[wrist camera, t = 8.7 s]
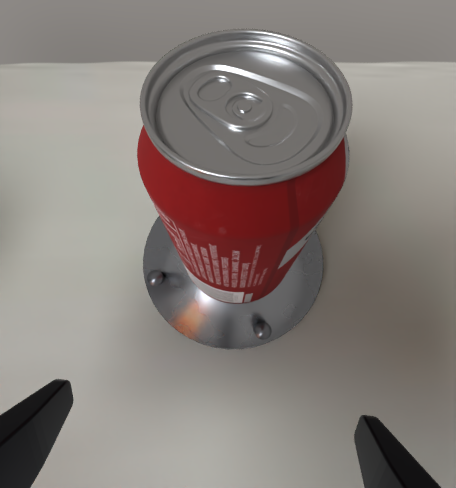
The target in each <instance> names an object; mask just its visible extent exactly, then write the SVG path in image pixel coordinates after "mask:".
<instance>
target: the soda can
mask: <svg viewBox="0 0 456 488" xmlns="http://www.w3.org/2000/svg"><path fill="white" fill-rule="evenodd" d="M140 111H141V117H142V121H143V124H144V125H143V127H142V130H141V133H140V137H139V141H138V149H137V158H138V167H139V171H140V175H141V178H142V180H143V183H144V185H145V188H146V190H147V192H148V194H149V196H150V198H151V200H152V202H153V204H154V206H155V208H156V210H157V212H158V214H159V216H160V218H161V220H162V222H163V224H164V226H165V228H166V230H167V232H168V234H169V236H170V238H171V240H172V242H173V244H174V246H175V248H176V250H177V252H178V254H179V256H180V258H181V260H182V262H183V264H184V266H185V268H186V270H187V272H188V274H189V276H190V278H191V280H192V281H193V283H194V284H195V285H196V286H197V287H198V288H199V289H200V290H201V291H202V292H203V293H204V294H206V295H207V296H209V297H211V298H213V299H215V300H217V301H220V302H224V303H229V304H246V303H251V302H254V301H257V300H259V299H262V298H264V297H265V296H267V295H268V294H270V293H271V292H272V291H273V290H275V289H276V288H277V286H278V285H279V284H280V283H281V281H282V280H283V278H284V277H285V275H286V274H287V272H288V271H289V269H290V268H291V266H292V265H293V263H294V261H295V260H296V258H297V257H298V255H299V254H300V252H301V251H302V249H303V248H304V246H305V245H306V243H307V241H308V240H309V238H310V237H311V235H312V234H313V232H314V231H315V229H316V228H317V226H318V225H319V223H320V222H321V220H322V218H323V217H324V215H325V214H326V212H327V211H328V209H329V208H330V206H331V205H332V203H333V202H334V200H335V198H336V197H337V195H338V193H339V192H340V190H341V188H342V186H343V183H344V181H345V179H346V175H347V171H348V166H349V145H348V140H347V136H346V131H347V128H348V126H349V123H350V119H351V115H352V96H351V91H350V88H349V85H348V83H347V80H346V79H345V77H344V75H343V73H342V72H341V71H340V69H339V68H338V67H337V66H336V65H335V63H334V62H333V61H332V60H330V59H329V58H328V57H327V56H326V55H325V54H323V53H322V52H321V51H319V50H318V49H316V48H315V47H313V46H311V45H310V44H308V43H306V42H303V41H301V40H299V39H297V38H294V37H291V36H288V35H285V34H281V33H277V32H273V31H266V30H258V29H232V30H223V31H217V32H212V33H208V34H205V35H201V36H198V37H196V38H193V39H191V40H189V41H186V42H184V43H182V44H180V45H178V46H177V47H175V48H174V49H172V50H171V51H169V52H168V53H167V54H165V55H164V56H163V57H162V58H161V59H160V60H159V61H158V62H157V63H156V64H155V65H154V66H153V68H152V69H151V70H150V72H149V74H148V75H147V77H146V79H145V81H144V84H143V87H142V90H141V95H140Z"/></svg>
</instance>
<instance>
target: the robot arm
mask: <svg viewBox="0 0 456 488" xmlns="http://www.w3.org/2000/svg"><path fill="white" fill-rule="evenodd" d="M72 404H73V394H72V389H71V384H70V382H69V381H68V380H62V379H56V380H53V381H52V382H50V383H49V384H47V385H46V386H44V387H43V388H41V389H39V390H38V391H36V392H35V393H33V394H32V395H30V396H29V397H27V398H26V399H24V400H23V401H21V402H20V403H18V404H17V405H15V406H14V407H12V408H11V409H9V410H8V411H6V412H4V413H3V414H1V415H0V488H30V487H31V485H32V484H33V482H34V480H35V479H36V477H37V475H38V474H39V472H40V470H41V468H42V466H43V465H44V463H45V461H46V459H47V457H48V455H49V453H50V451H51V449H52V447H53V445H54V443H55V441H56V439H57V436H58V434H59V432H60V430H61V428H62V426H63V424H64V422H65V420H66V418H67V416H68V414H69V412H70V409H71V407H72ZM354 440H355V445H356V450H357V455H358V459H359V464H360V469H361V473H362V478H363V483H364V487H365V488H441V487H440V486H439V485H438V484H437V482H436V481H435V480H434V479H433V478H432V477H431V476H430V475H429V474H428V473H427V472H426V470H425V469H424V468H423V467H422V466H421V465H420V464H419V463H418V462H417V461H416V460H415V458H414V457H413V456H412V455H411V454H410V453H409V452H408V451H407V450H406V449H405V448H404V446H403V445H402V444H401V443H400V442H399V441H398V440H397V439H396V438H395V437H394V436H393V434H392V433H391V432H390V431H389V430H388V429H387V428H386V427H385V426H384V425H383V423H382V422H381V421H380V420H379V419H378V418H376V417H374V416H367V415H362V416H361V417H360V419H359V422H358V424H357V427H356V430H355V434H354Z"/></svg>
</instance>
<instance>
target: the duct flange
mask: <svg viewBox="0 0 456 488" xmlns="http://www.w3.org/2000/svg"><path fill="white" fill-rule="evenodd" d="M143 271H144V278H145V283H146V286H147V289H148V293H149V295H150V297H151V299H152V301H153V303H154V305H155V307H156V308H157V310H158V311H159V313H160V314H161V315H162V316H163V317H164V318H165V320H166V321H167V322H168V323H169V324H170V325H171V326H173V327H174V328H175V329H176V330H177V331H179V332H180V333H182V334H184V335H185V336H187V337H188V338H190V339H192V340H194V341H197V342H199V343H201V344H204V345H207V346H211V347H215V348H221V349H245V348H252V347H256V346H259V345H263V344H266V343H268V342H270V341H272V340H274V339H276V338H279V337H280V336H282V335H283V334H285V333H286V332H288V331H289V330H291V329H292V328H293V327H294V326H295V325H296V324H298V323H299V322H300V321H301V319H302V318H303V317H304V316H305V315H306V314H307V312H308V311H309V309H310V308H311V306H312V304H313V303H314V301H315V298H316V296H317V294H318V292H319V288H320V285H321V281H322V274H323V255H322V248H321V244H320V241H319V238H318V235H317V233H316V231H314V232H313V234H312V235H311V237H310V238H309V240H308V241H307V243H306V245H305V246H304V248H303V249H302V251H301V252H300V254H299V255H298V257H297V258H296V260H295V261H294V263H293V265H292V266H291V268H290V269H289V271H288V272H287V274H286V275H285V277H284V278H283V280H282V281H281V283H280V284H279V285H278V286H277V288H276V289H275V290H273V291H272V292H271V293H270V294H268V295H267V296H265V297H264V298H262V299H259V300H257V301H254V302H251V303H246V304H229V303H224V302H220V301H217V300H215V299H213V298H211V297H209V296H207V295H206V294H204V293H203V292H202V291H201V290H200V289H199V288H198V287H197V286H196V285H195V284H194V283H193V281H192V280H191V278H190V276H189V274H188V272H187V270H186V268H185V266H184V264H183V262H182V260H181V258H180V256H179V254H178V252H177V250H176V248H175V246H174V244H173V242H172V240H171V238H170V236H169V234H168V232H167V230H166V228H165V226H164V224H163V222H162V220H161V218H160V216H159V217H158V218H157V220H156V221H155V223H154V225H153V227H152V228H151V231H150V233H149V236H148V238H147V241H146V245H145V249H144V258H143Z"/></svg>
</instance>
